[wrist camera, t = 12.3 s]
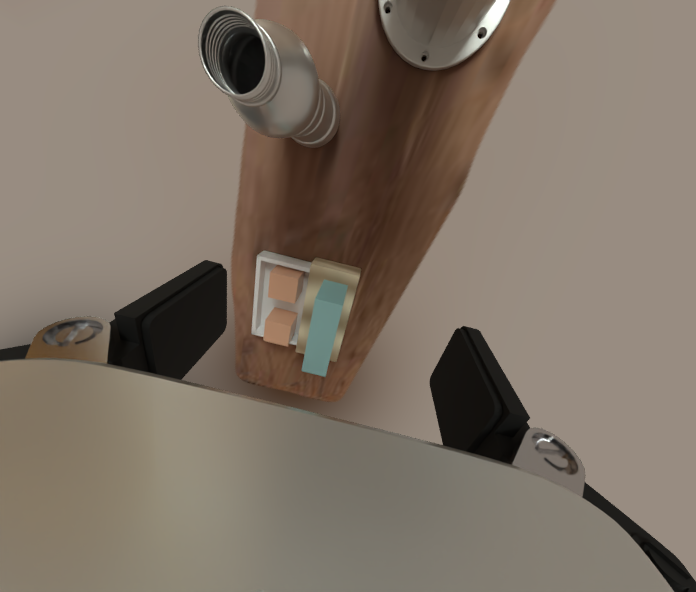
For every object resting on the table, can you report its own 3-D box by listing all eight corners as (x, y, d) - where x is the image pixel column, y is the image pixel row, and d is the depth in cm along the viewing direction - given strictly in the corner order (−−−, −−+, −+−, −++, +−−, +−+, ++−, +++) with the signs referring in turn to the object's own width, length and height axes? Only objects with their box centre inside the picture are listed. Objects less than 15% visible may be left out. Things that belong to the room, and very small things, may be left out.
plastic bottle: (303, 68, 29) (188, -83, 11) (354, 108, 30) (321, 27, 12) (278, 126, 32) (153, 77, 14) (325, 160, 33) (265, 155, 15)
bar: (324, 279, 37) (315, 298, 32) (348, 285, 37) (343, 305, 32) (310, 345, 42) (301, 371, 37) (331, 350, 43) (325, 376, 37)
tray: (263, 250, 39) (257, 255, 37) (314, 263, 39) (310, 269, 37) (257, 325, 46) (251, 333, 43) (301, 336, 46) (297, 345, 43)
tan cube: (305, 268, 39) (279, 262, 39) (298, 278, 36) (270, 272, 36) (302, 291, 41) (277, 285, 41) (294, 303, 38) (267, 297, 38)
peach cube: (298, 312, 43) (274, 307, 43) (290, 326, 40) (265, 319, 39) (294, 332, 45) (272, 326, 45) (287, 346, 41) (263, 340, 41)
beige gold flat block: (315, 256, 39) (311, 263, 36) (361, 268, 39) (360, 276, 36) (300, 341, 46) (295, 351, 43) (338, 350, 46) (336, 362, 44)
